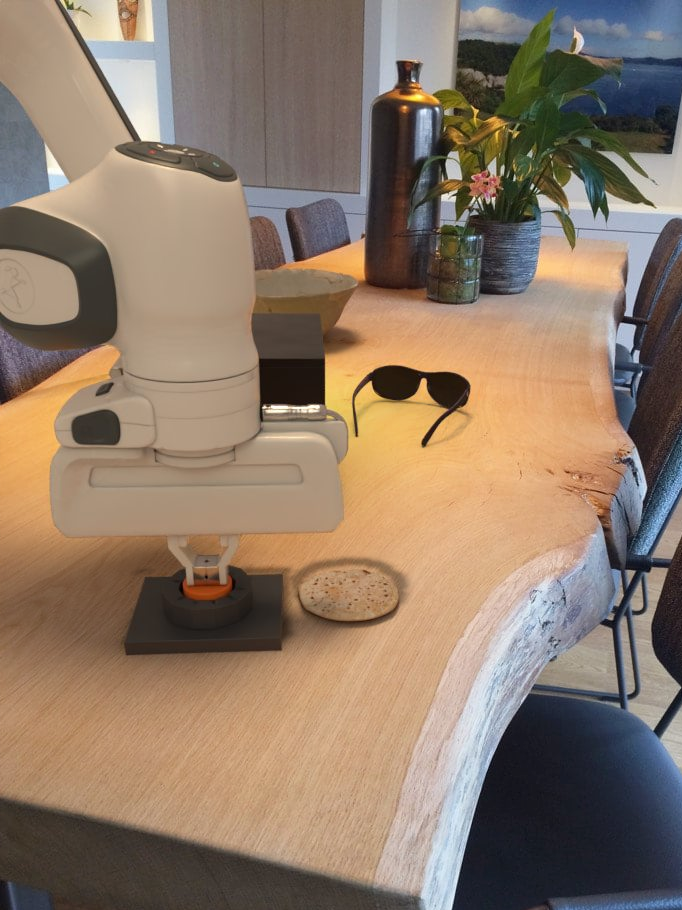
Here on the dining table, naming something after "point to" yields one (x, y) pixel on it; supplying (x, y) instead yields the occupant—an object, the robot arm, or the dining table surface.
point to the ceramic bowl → (304, 293)
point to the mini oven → (290, 358)
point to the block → (207, 617)
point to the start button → (207, 591)
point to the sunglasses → (405, 384)
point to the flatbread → (349, 595)
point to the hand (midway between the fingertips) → (208, 581)
